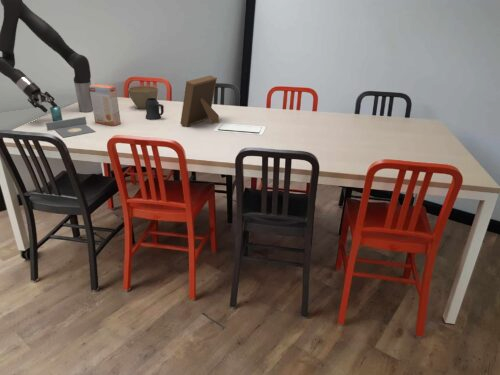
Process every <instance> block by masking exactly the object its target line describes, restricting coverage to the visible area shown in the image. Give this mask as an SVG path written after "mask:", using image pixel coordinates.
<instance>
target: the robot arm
mask: <svg viewBox="0 0 500 375" xmlns="http://www.w3.org/2000/svg"><path fill="white" fill-rule="evenodd" d="M0 3H1V5H2V7H3V20H2V24H1V27H0V28H1V29H0V52H1V56H0V74H2V75H3V76H5V77H7V78H9V80H11V81H12V82H13V83H14V84H15V85H16V86H17V87H18V89H19V90H20V91H22V92H23V94H24V95H26V96H27V97H28V98H27V101H28V102H29V103H30V104H31V105H32V107H33V108H36V109H37V108H38V109H40V110H41V111H42V112H44V113H47V112H48V108H47V107H46V106H44V104H42V103H48V104H50V106H51V107H53V106H58V104H57V103H56V102H55V101H54V100H55V98H54V96H53V95H51V93H49V92H48V91H44V92H42V91H41V88H40V87H39V86H38V85H37V84H36V83H35V82H34V81H33V80H32V79H31V78H30V77H29V76H28V75H26V74H25V73H24V72H23V71H22V70H21V69H19V68H15V65H16V59H15V58H16V57H15V45H16V39H17V38H16V36H17V30H18V29H17V28H18V24H19V20H21V22H23V24H25V25H26V26H27V27H28V29H29V30H30V31H31V32H32V33H33V34H34V35H35V36H36V37H37V38H38V39H40V41H42V42H43V43H44V44H45V45H46V46H48V47H49V48H51V50H52V51H54V52H55V53H57V54H58V55H59V56H60V57H61V58H62V59H63V60H64V61H65V62H66V64H68V65H69V66H70V68H72V69H73V72H74V76H73V83H74V89H75V95H76V100H77V103H78V104H77V105H78V110H79V112H81V113H90V112H93V107H92V101H91V95H90V89H89V86H90V85H92V83H91V81H92V80H91V78H92V75H91V68H90V67H91V66H90V62H89V59H88V58H87V56H85V55H83V54H79V53H77V52H76V51H75V50H74V49H73V48H71V47H70V46H69V45H68V44H67V43H66V41H65V40H64V38H63V37H62V36H61V34H59V32H58V31H57V30H56V29H55V28H53V26H51V25H50V24H49V23H48V22H46V20H44V19H43V18H42V17H40V16H39V15H37V14H36V13H35V12H33V11H32V10H31V9H30V8H29V7H28V5H26V3H24V1H23V0H0Z"/></svg>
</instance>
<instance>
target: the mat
mask: <svg viewBox="0 0 500 375" xmlns="http://www.w3.org/2000/svg"><path fill="white" fill-rule="evenodd" d="M53 131H55V132H56V133H57V134H58V135H59V136H60V137H62V138H63V139H65V138H70V137H71V138H72V137H75V136H80V135H81V136H82V135H86V134H90V133H91V134H92V133H96V130H94V129H93V128H92V127H90V126H88V125H87V124H83V125H77V126H71V127H65V128H59V129H54V130H53Z"/></svg>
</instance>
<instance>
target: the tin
mask: <svg viewBox="0 0 500 375" xmlns="http://www.w3.org/2000/svg"><path fill="white" fill-rule="evenodd" d="M61 110H62V109H61V106H59V105H57V106H50V107H49V111H50V115H51V120H52V122H54V121H61V120H64V119H63V116H62V111H61Z"/></svg>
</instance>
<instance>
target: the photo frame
mask: <svg viewBox="0 0 500 375" xmlns="http://www.w3.org/2000/svg"><path fill="white" fill-rule="evenodd" d="M217 79H218V77H215V76H212V75H207V76H204V77H199V78H194V79H191V80H186V81H185V82H186V83H185V88H184V89H185V90H184V96H183V103H182V109H181V110H182V111H181V117H180V123H179V124H180V125H182V126H183V127H186V128H187V127H190V126H193V125H195V124H198V123H200V122H202V121H205V120H208V119H209V121H210V124H213V125H214V124H219V123H220V119H219V118H220V117H219V114H218V113H217V112H216V111H215V109H213V108H212V105H213V101H214V95H215V90H216V84H217V81H218V80H217Z"/></svg>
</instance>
